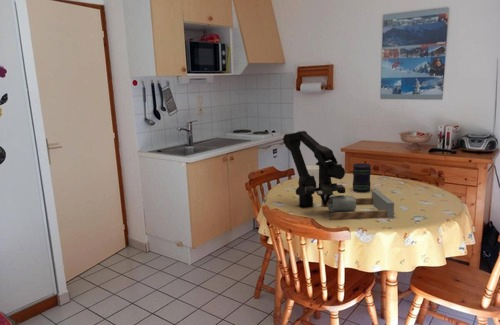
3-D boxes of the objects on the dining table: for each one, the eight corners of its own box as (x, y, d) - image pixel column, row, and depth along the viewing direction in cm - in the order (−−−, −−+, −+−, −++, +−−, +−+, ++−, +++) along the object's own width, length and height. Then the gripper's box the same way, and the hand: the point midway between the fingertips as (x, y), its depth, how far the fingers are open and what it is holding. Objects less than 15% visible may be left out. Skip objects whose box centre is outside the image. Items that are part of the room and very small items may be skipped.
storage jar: (368, 187, 225) (369, 163, 222) (372, 192, 215) (372, 166, 212) (351, 188, 226) (351, 163, 223) (354, 193, 216) (354, 167, 213)
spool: (325, 208, 182) (331, 188, 184) (324, 211, 191) (329, 192, 193) (354, 216, 179) (359, 196, 181) (352, 219, 188) (356, 199, 190)
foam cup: (321, 190, 223) (321, 169, 221) (305, 191, 224) (305, 169, 221) (318, 186, 233) (318, 165, 230) (303, 186, 233) (303, 166, 230)
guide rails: (330, 219, 177) (330, 213, 176) (321, 205, 197) (321, 200, 197) (386, 217, 177) (387, 211, 177) (371, 203, 198) (371, 197, 197)
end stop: (387, 217, 177) (387, 203, 175) (371, 202, 198) (371, 189, 197) (393, 217, 177) (394, 202, 175) (377, 202, 198) (377, 189, 197)
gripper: (308, 180, 175) (308, 212, 178) (348, 178, 175) (348, 211, 179) (304, 174, 186) (304, 205, 189) (342, 173, 186) (342, 203, 189)
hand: (324, 206), depth 186 cm, fingers closed
